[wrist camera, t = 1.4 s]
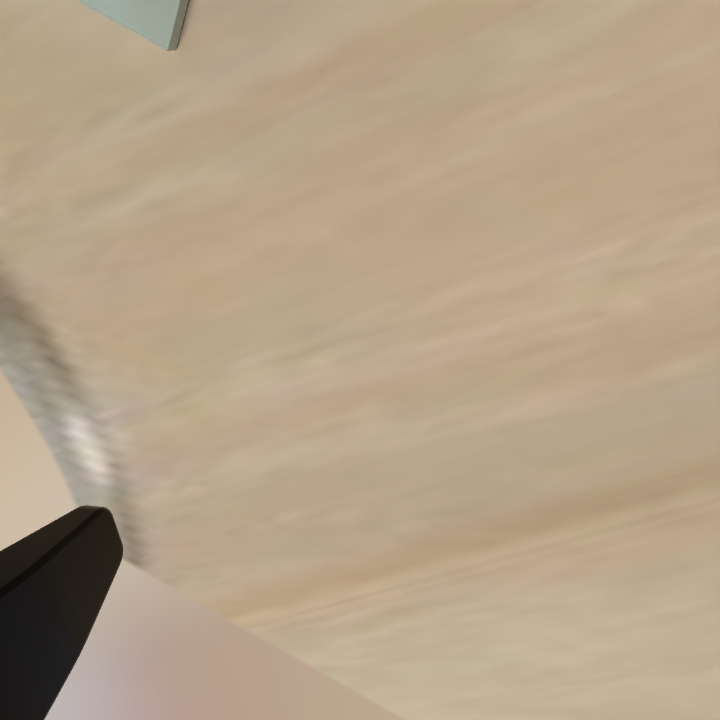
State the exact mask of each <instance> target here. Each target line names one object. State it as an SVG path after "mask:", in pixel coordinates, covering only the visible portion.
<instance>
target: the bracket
mask: <svg viewBox="0 0 720 720" xmlns="http://www.w3.org/2000/svg"><path fill="white" fill-rule="evenodd" d="M77 1H78V2H80V3H82V4H84V5H86V6H87V7H89V8H91V9H93V10H95V11H97V12H98V13H100V14H102V15H104V16H106V17H107V18H109V19H111V20H113V21H115V22H116V23H118V24H120V25H122V26H124V27H125V28H127V29H129V30H131V31H133V32H135V33H136V34H138V35H140V36H142V37H144V38H145V39H147V40H149V41H151V42H153V43H154V44H156V45H158V46H160V47H162V48H164V49H165V50H167V51H171V50H176V48H177V44H178V40H179V36H180V33H181V29H182V25H183V21H184V17H185V13H186V9H187V5H188V2H189V0H77Z"/></svg>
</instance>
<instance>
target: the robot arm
mask: <svg viewBox="0 0 720 720" xmlns="http://www.w3.org/2000/svg"><path fill="white" fill-rule="evenodd" d="M122 556H123V545H122V541H121V539H120V536H119V533H118V530H117V527H116V524H115V521H114V518H113V515H112V513H111V512H110V510H109V509H107V508H105V507H97V506H87V505H86V506H81V507H78V508H76V509H75V510H73V511H71V512H69V513H68V514H66V515H64V516H62V517H60V518H59V519H57V520H55V521H53V522H52V523H50V524H48V525H46V526H44V527H43V528H41V529H39V530H37V531H36V532H34V533H32V534H30V535H28V536H27V537H25V538H23V539H21V540H20V541H18V542H16V543H14V544H12V545H11V546H9V547H7V548H5V549H3V550H2V551H0V720H44V719H45V717H46V716H47V714H48V712H49V710H50V708H51V707H52V705H53V703H54V701H55V699H56V698H57V696H58V694H59V692H60V690H61V688H62V687H63V685H64V683H65V681H66V680H67V678H68V675H69V674H70V672H71V670H72V669H73V667H74V665H75V663H76V661H77V659H78V657H79V655H80V653H81V651H82V649H83V647H84V645H85V643H86V640H87V638H88V636H89V634H90V631H91V629H92V627H93V625H94V622H95V620H96V617H97V616H98V613H99V611H100V609H101V606H102V604H103V602H104V600H105V597H106V595H107V593H108V591H109V588H110V586H111V584H112V581H113V579H114V577H115V575H116V572H117V570H118V568H119V565H120V563H121V560H122Z"/></svg>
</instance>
